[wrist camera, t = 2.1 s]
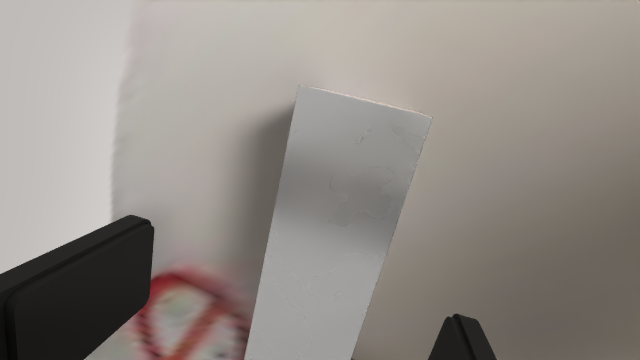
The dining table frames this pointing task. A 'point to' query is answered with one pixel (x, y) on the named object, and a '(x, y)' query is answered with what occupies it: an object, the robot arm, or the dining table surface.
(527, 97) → the dining table surface
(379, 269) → the silver metal block
